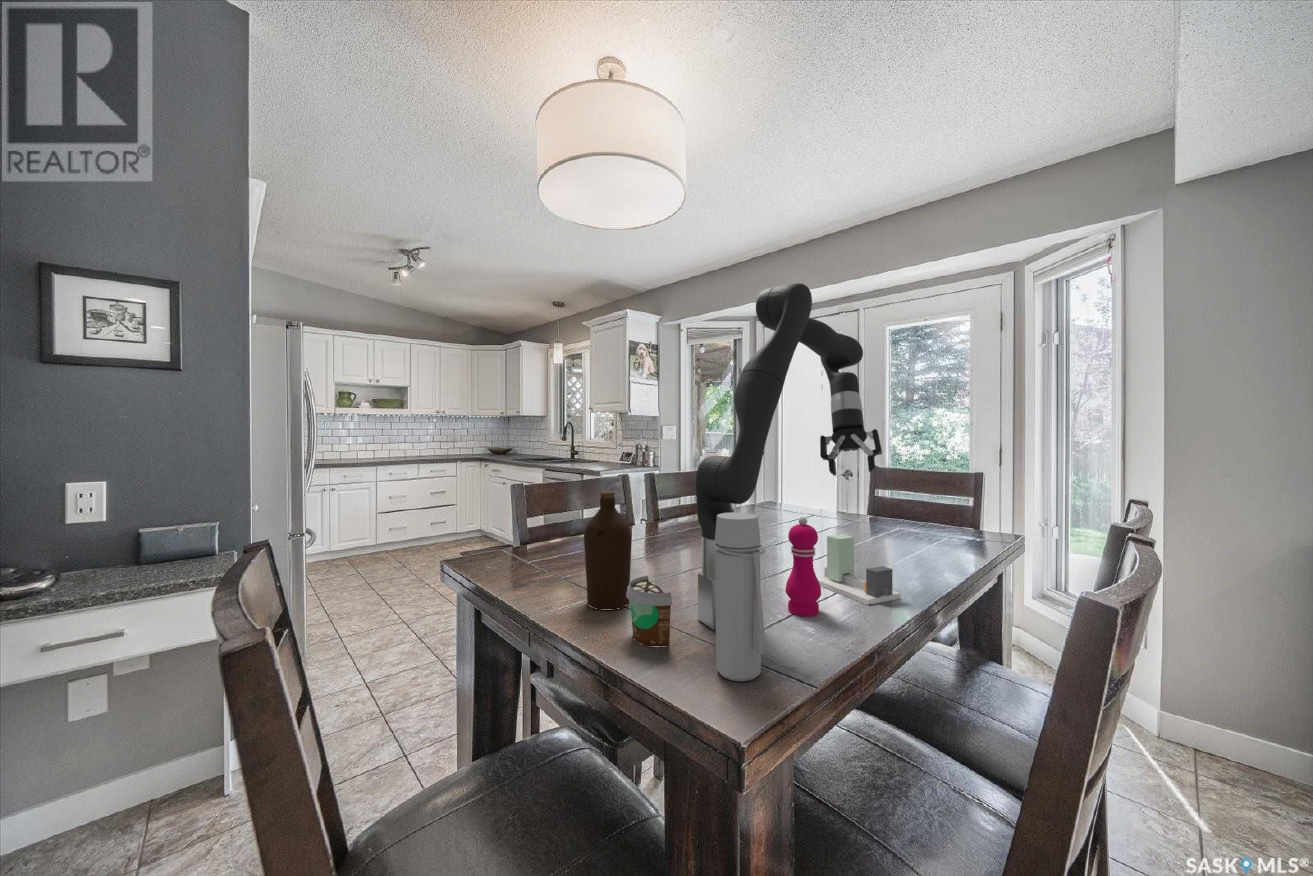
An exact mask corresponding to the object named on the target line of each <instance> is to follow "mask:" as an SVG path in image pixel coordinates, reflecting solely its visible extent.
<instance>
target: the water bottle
mask: <svg viewBox="0 0 1313 876" xmlns="http://www.w3.org/2000/svg"><path fill="white" fill-rule="evenodd" d="M759 524H760V523H759V515H757V514H754V513H750V512H748V513H747V512H735V511H734V512H732V513H722V514H718V515H717V520H716V532H715V542H714V546H715V547H716V548H717V549H716V551H715V574H716V629H715V669H716V670H717V671H718V673H719V674H720V675H721V676H722V677H723V678H725V679H728V680H730V681H735V682H746V681H747V682H748V681H752V680H754V679H756V678H757V677H758V676H760V674H761V671H762V654H764V650H765V642H766V641H765V640H766V636H765V625H764V613H763V612H764V611H763V601H762V592H761V591H762V589H761V556H762V555H764V554H765V553H766V551H767V550H766V547H765V546H764V545H763V544H761V534H760V525H759ZM761 548H762V551H761V550H760V549H761Z"/></svg>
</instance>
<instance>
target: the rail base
mask: <svg viewBox="0 0 1313 876" xmlns="http://www.w3.org/2000/svg"><path fill="white" fill-rule="evenodd" d="M865 571H866V572H865V577H866V579H863V578H861V577H858V576H855V575H854V576H852V575H849V574H843V582H837V581H835V580H832V579H829V578H827V566H825V567H824V576H823V577H817V579H818V581H819V584H820V587H821V586H823V587H822V588H824V587H825V589H826V588H827V589H826V590H829V591H831V592H834V591H835V592H834V593H837V594H839V595H842V596H844V595H845V597H846V596H847V597H846V598H849V599H852V600H854V601H856V600H857V602H858V603H861V604H864V605H866V604H867V605H866V606H869V604H871V605H874V604H879V603H885V601H886V602H889V601H890V600H891V601H896V600H900V599H901V596H902V595H901V593H900V592H897V591H895V590H893V568H891V567H887V566H883V565H882V566H873V567H870V568H866V570H865Z"/></svg>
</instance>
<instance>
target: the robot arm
mask: <svg viewBox="0 0 1313 876" xmlns="http://www.w3.org/2000/svg"><path fill="white" fill-rule="evenodd" d="M812 306H813V296H812V292H811V290H810V287H809V286H807V284H804V283H800V282H799V283H789V284H783V285H777V286H772V287H769V288H766V289H764V290H762V291H761V292H760V293H759V294H758V296H757V298H756V301H755V314H756V316H757V317H756V318H757V319H758V322H759V323H760V324H762V326H763V327H765V328H767V329H769V330H771V331H774V332H773V334H772V335H771V336H770V338H769V339H768V340H767V341H766V342H765V343H764V344H763V345H762V346H761V347H760V348H759V349H758V351H756V352H755V353H754V354H753V355H752V356H751V358H749V360H748V361H747V362H746V364H745V365H744V366H743V369H742V370H741V373H740V375H739V378H738V382H737V384H736V387H735V390H734V395H733V404H734V410H735V413H736V418H737V421H738V427H739V429H738V437H737V440H736V444H735V447H734V449H733V453H732V454H731V456H729V455H728V456H727V455H709V456H707V457H705V458H703V459H702V460H701V462H700V463H699V465H698V468H697V471H696V473H695V495H696V511H697V512H696V513H697V514H696V515H697V522H698V523H699V526H700V531H701V532H700V533H701V572H698V573H697V620H699V621H700V622H701V623H702V624H704V625H706V626H707V627H708V628H710V629H711V630H713V631H716V574H715V551H716V549H717V548H716V547H715V546H714V542H715V532H716V520H717V515H718V514H722V513H732V512H735V511H734V510H733V508H732V506H731V505H732V504H734V505H742V504H744V503H746V502H748V500H749V501H750V499H751V498H752V495H753V494H754V492H755V490H756V487H757V484H758V480H759V476H760V475H759V474H760V471H761V465H762V462H763V456H764V450H765V446H766V443H767V439H768V435H769V433H770V428H771V425H772V421H773V418H774V415H775V412H776V409H777V406H778V404H779V401H780V398H781V394H782V393H783V388H784V385H785V381H786V378H787V375H788V371H789V369H790V366H791V363H792V360H793V357H794V354H795V351H796V349H797V347H798V345H799V343H800V344H803V345H804V346H806V347H807V349H809V350H811V351H812V352H813V353H815V354H816V355H818V356H819V357H820V362H821V364H822V366H823V369H824V371H825V373H826V377H827V379H828V380H827V381H828V382H829V391H830V392H829V393H830V415H831V425H832V434H831V436H825V435H820V438H819V445H820V447H819V449H820V451H819V453H820V458H821V459H822V460H823V461H827V462H828V470H829V473H830V475H831V474H832V476H834V477H835V476H837V466H836V465H837V464H836V459H837V457H838V456H839V455H840V454H841V452H849V451H858V450H859V449H860V450H862V452H864V453H865V454H866V455H867V466H868V472H869V473H870V474H871V473H873V472H874V471H875V470H876V461H875V460H876V459H875V458H876V456H881V455H882V454H883V450H882V446H881V440H880V435H879V432H878V429H877V428H874V429H873V430H869V431H866V430H865V425H864V423H865V422H864V414H863V409H864V408H863V405H862V403H863V402H862V399H861V395H860V389H859V388H860V386H859V385H860V384H859V378H858V376H857V375H856V373H854V372H849V371H847V372H845V371H844V372H843V371H842V372H840V371H839V370H841V369H842V370H843V369H846V368H849V367H853V366H855V365H857V364H859V363H860V362H861V361H862V359H863V356H864V350H863V347H862V344H861V342H859V341H858V340H857V339H855V338H854V337H852V336H850V335H846V334H842V333H839V332H837V331H836V330H835V329H833V328H832V327H831V326H829V325H828V323H825V322H823V321H821V320H817V319H816V318H815V319H814V318H811V317H810V316H811V312H812ZM867 438H870V440H872V441H873V443H874V448H875V449H873V450H872V449H871V448H870V447H868V445H867V444H866V443H865V441H866V440H867ZM831 442H833V443H834V446H833V447H832V449H831V451H830V452H829V454H828V446H830V443H831Z"/></svg>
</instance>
